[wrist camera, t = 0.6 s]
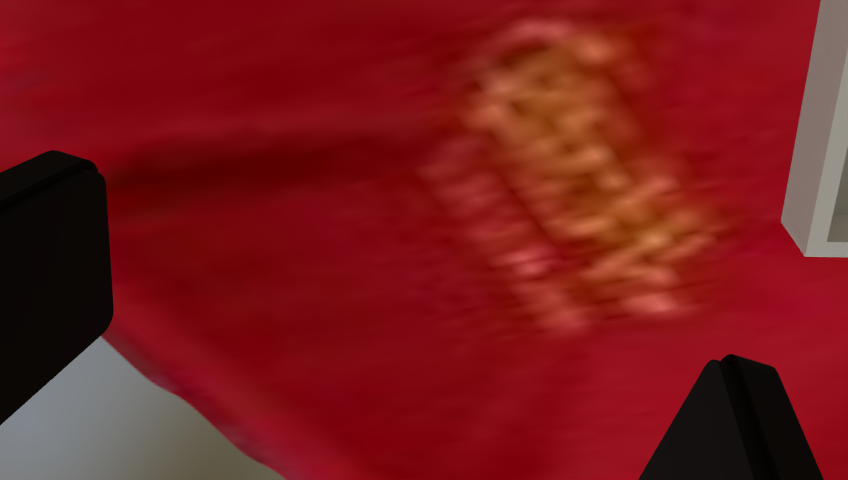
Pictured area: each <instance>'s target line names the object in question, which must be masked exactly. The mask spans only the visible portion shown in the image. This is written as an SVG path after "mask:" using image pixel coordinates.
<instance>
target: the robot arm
mask: <svg viewBox="0 0 848 480" xmlns="http://www.w3.org/2000/svg"><path fill="white" fill-rule="evenodd" d="M112 317H113V293H112V277H111V261H110V245H109V229H108V212H107V196H106V183H105V179H104V177H103V176H102V175H101V174H100V173H98V169H97V167H96V166H95V164H94V163H93V162H91V161H90V160H86V159H83V158H80V157H76V156H73V155H70V154H66V153H63V152H60V151H55V150H52V151H48V152H45V153H43V154H41V155H38V156H36V157H34V158H32V159H30V160H27V161H25V162H23V163H21V164H19V165H16V166H14V167H12V168H10V169H8V170H6V171H3V172H1V173H0V425H1V424H2V423H3V422H4V421H5V420H6V419H8V418H9V417H10V416H11V415H12V414H13V413H14V412H16V411H17V410H18V409H19V408H20V407H21V406H22V405H23V404H25V403H26V402H27V401H28V400H29V399H30V398H31V397H32V396H33V395H34V394H36V393H37V392H38V391H39V390H40V389H41V388H42V387H43V386H45V385H46V384H47V383H48V382H49V381H50V380H51V379H53V378H54V377H55V376H56V375H57V374H58V373H59V372H60V371H61V370H62V369H64V368H65V367H66V366H67V365H68V364H69V363H70V362H72V361H73V360H74V359H75V358H76V357H77V356H78V355H79V354H80V353H82V352H83V351H84V350H85V349H86V348H87V347H88V346H89V345H91V343H93V342H94V341H95V340H96V339H97V338H98V337H99V336H101V335H102V334H103V333H104V332H105V331H106V329H107V328H108V326H109V325H110V322H111V320H112ZM638 480H823V477H822V475H821V473H820V470H819V468H818V466H817V463H816V461H815V459H814V456H813V454H812V452H811V449H810V447H809V445H808V442H807V440H806V438H805V435H804V433H803V431H802V428H801V426H800V424H799V421H798V419H797V417H796V414H795V412H794V410H793V407H792V405H791V403H790V400H789V398H788V396H787V393H786V391H785V389H784V386H783V384H782V382H781V379H780V377H779V375H778V372H777V371H776V369H775V368H774V367H772V366H770V365H766V364H763V363H760V362H756V361H753V360H750V359H746V358H743V357H740V356H736V355H733V354H730V355H727V356H725V357H724V358H723V359H722V360H721V361H718V360H711V361H709V362H708V363H707V365H706V366H705V367H704V369H703V371H702V372H701V374H700V376H699V378H698V379H697V381H696V383H695V384H694V386H693V388H692V389H691V391H690V393H689V394H688V396H687V398H686V400H685V401H684V403H683V405H682V406H681V408H680V410H679V411H678V413H677V415H676V417H675V418H674V420H673V422H672V423H671V425H670V427H669V428H668V430H667V432H666V434H665V435H664V437H663V439H662V440H661V442H660V444H659V445H658V447H657V449H656V450H655V452H654V454H653V456H652V457H651V459H650V461H649V462H648V464H647V466H646V467H645V469H644V471H643V473H642V474H641V476H640V478H639V479H638Z"/></svg>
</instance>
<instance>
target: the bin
mask: <svg viewBox="0 0 848 480" xmlns="http://www.w3.org/2000/svg"><path fill="white" fill-rule="evenodd" d="M781 223H782V224H783V225H784V227H785V228H786V230H787V231H788V233H789V234H790V236H791V237H792V238H793V240H794V241H795V243H796V244H797V246H798V247H799V249H800V250H801V252H802V253H803V254H804V256H807V257H848V0H821V3H820V9H819V14H818V20H817V25H816V31H815V36H814V42H813V47H812V53H811V58H810V64H809V69H808V75H807V80H806V86H805V91H804V97H803V102H802V108H801V113H800V119H799V124H798V130H797V135H796V141H795V146H794V152H793V157H792V163H791V168H790V174H789V179H788V185H787V190H786V196H785V201H784V207H783V212H782V218H781Z"/></svg>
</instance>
